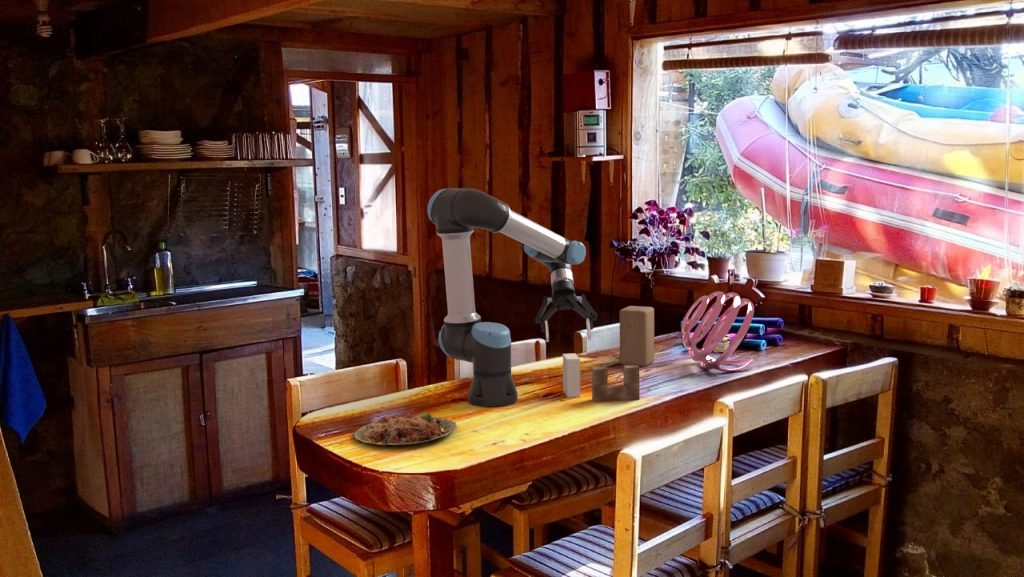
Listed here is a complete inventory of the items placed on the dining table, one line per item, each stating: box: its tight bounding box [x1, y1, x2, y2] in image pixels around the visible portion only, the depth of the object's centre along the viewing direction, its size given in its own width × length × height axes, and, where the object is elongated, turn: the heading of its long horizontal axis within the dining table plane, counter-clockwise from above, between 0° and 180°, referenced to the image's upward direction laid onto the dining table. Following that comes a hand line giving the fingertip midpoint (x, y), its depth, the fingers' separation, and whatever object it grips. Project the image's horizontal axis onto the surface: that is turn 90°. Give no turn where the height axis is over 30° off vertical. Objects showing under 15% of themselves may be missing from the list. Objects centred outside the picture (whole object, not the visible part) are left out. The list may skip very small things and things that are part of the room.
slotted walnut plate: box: [591, 365, 641, 403], centre depth 267 cm, size 14×3×10 cm, turn 96°
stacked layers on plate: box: [712, 336, 731, 353], centre depth 330 cm, size 10×9×6 cm
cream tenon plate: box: [562, 353, 581, 398], centre depth 274 cm, size 4×8×12 cm, turn 6°
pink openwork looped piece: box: [681, 291, 755, 373], centre depth 302 cm, size 28×28×27 cm
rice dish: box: [352, 411, 458, 446], centre depth 238 cm, size 28×28×5 cm
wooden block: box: [619, 305, 655, 367], centre depth 313 cm, size 10×10×20 cm
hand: (568, 338), depth 283 cm, fingers open, 13 cm apart
